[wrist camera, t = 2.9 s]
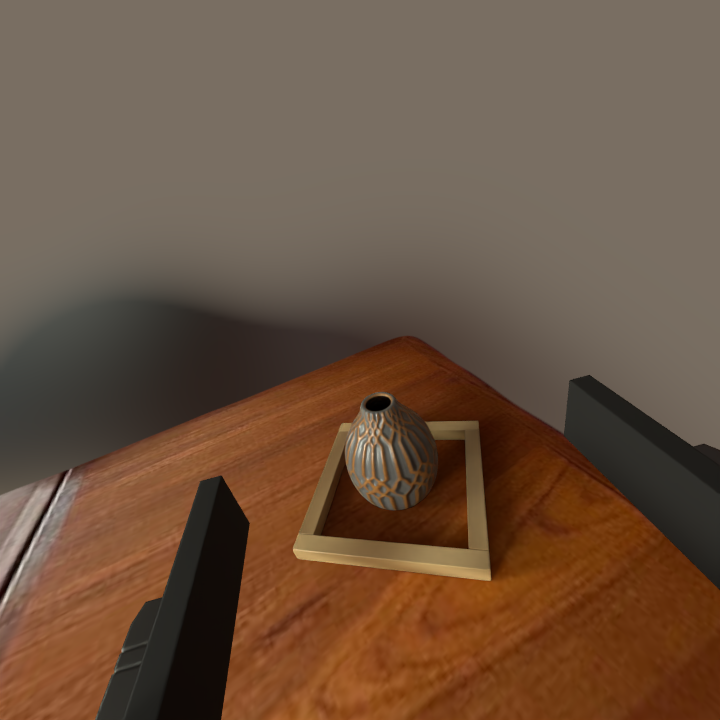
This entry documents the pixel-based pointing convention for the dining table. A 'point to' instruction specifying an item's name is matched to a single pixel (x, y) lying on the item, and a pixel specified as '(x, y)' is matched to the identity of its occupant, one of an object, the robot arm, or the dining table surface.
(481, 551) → the oak frame
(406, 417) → the vase
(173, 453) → the dining table surface
